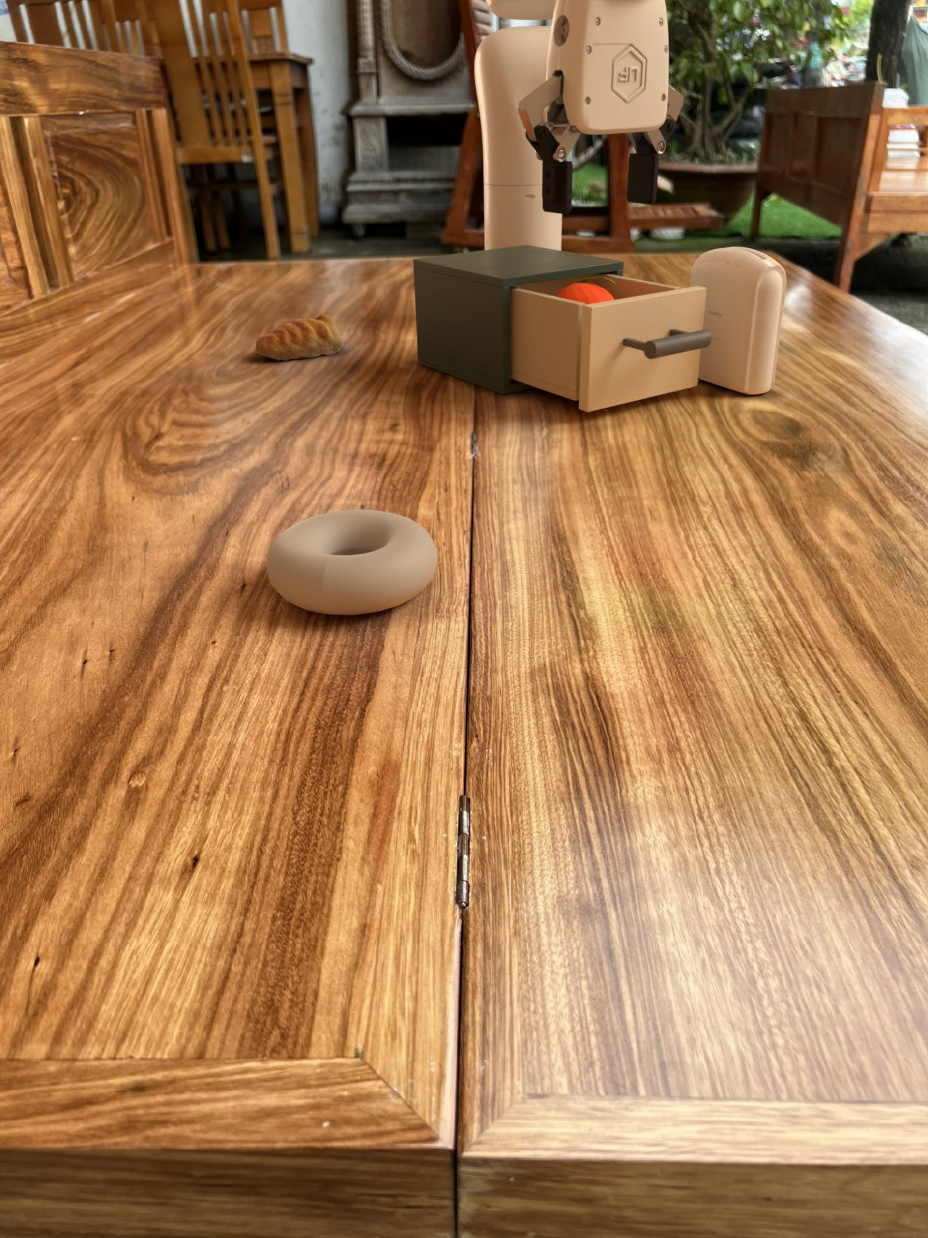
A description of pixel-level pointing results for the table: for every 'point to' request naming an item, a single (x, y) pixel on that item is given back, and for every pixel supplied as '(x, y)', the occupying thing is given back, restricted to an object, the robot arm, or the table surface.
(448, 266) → the cabinet
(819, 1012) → the table surface
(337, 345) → the pastry
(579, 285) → the clementine
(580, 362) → the drawer
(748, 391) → the photo printer
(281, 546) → the donut
